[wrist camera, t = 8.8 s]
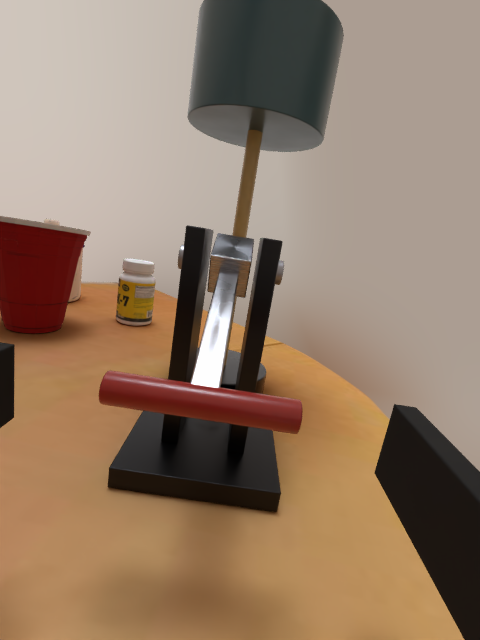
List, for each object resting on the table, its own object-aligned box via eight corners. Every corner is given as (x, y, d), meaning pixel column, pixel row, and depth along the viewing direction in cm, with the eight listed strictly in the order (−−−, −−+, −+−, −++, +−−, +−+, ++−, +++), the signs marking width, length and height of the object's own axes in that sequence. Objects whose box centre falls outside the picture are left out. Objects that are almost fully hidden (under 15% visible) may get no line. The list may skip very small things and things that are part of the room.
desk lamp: (143, 398, 28) (187, -35, 21) (172, 353, 38) (207, 57, 32) (278, 418, 28) (365, -3, 21) (269, 368, 39) (325, 77, 32)
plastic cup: (95, 318, 46) (100, 227, 44) (71, 345, 36) (76, 227, 33) (5, 309, 44) (5, 212, 41) (-48, 334, 34) (-53, 207, 31)
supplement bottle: (110, 316, 48) (115, 256, 46) (143, 316, 51) (148, 259, 49) (123, 327, 45) (128, 262, 43) (156, 325, 48) (163, 265, 46)
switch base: (276, 512, 18) (334, 249, 15) (107, 487, 18) (129, 215, 15) (266, 416, 28) (300, 244, 25) (155, 399, 28) (175, 224, 25)
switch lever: (291, 449, 13) (308, 409, 11) (102, 421, 13) (94, 376, 11) (285, 279, 22) (293, 245, 21) (176, 261, 22) (177, 226, 21)
